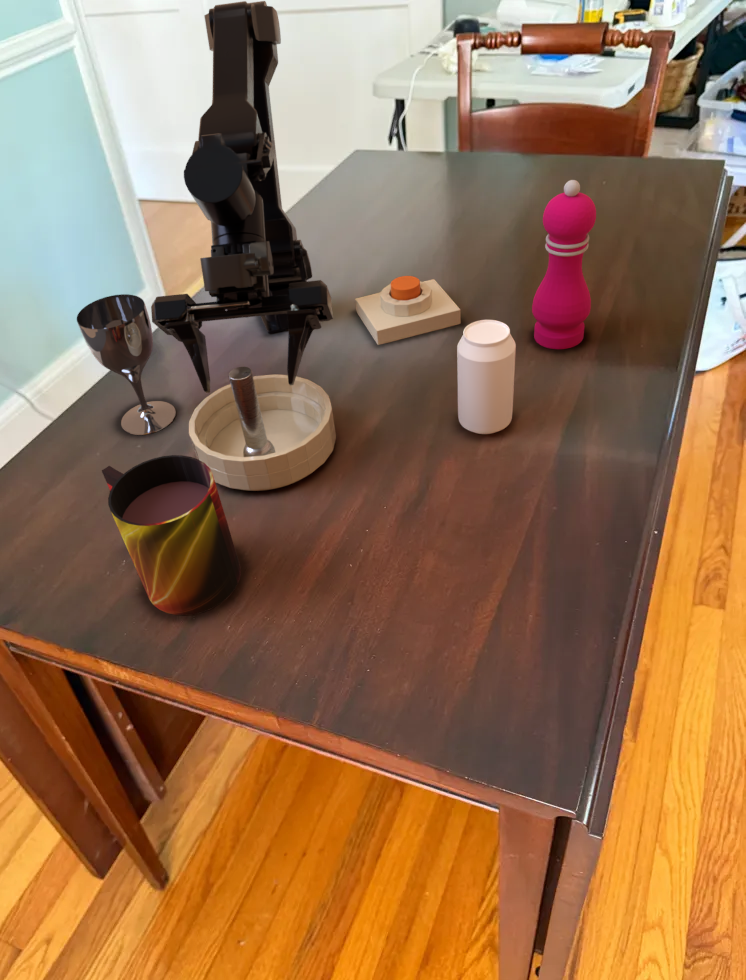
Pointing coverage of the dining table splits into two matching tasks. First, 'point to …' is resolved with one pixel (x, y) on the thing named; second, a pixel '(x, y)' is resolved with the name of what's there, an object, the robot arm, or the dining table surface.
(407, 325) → the push button box
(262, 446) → the metal pestle
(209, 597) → the mug
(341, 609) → the dining table surface
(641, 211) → the dining table surface
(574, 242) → the pepper mill
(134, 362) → the wine glass
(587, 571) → the dining table surface
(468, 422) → the beverage can
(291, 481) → the bowl
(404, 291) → the timer button
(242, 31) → the robot arm
